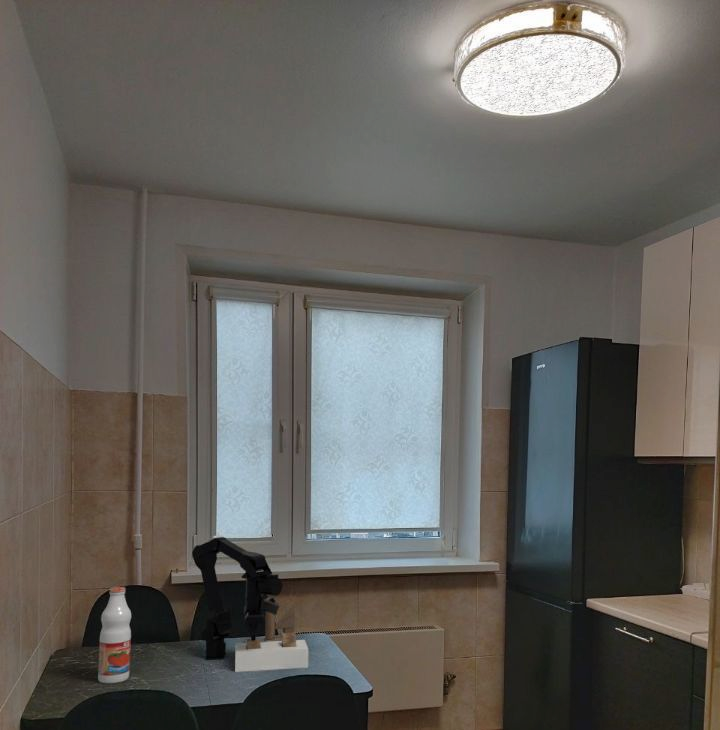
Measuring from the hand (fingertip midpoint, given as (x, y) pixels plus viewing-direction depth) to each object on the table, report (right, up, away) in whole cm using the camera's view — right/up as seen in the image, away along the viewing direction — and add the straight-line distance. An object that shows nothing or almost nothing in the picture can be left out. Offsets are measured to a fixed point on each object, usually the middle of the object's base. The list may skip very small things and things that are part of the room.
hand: (253, 640), depth 230 cm
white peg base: (+6, -8, 0) cm, 10 cm away
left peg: (0, -5, -1) cm, 5 cm away
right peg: (+12, -4, +2) cm, 13 cm away
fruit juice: (-42, -6, -15) cm, 45 cm away
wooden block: (+6, -11, +20) cm, 24 cm away
